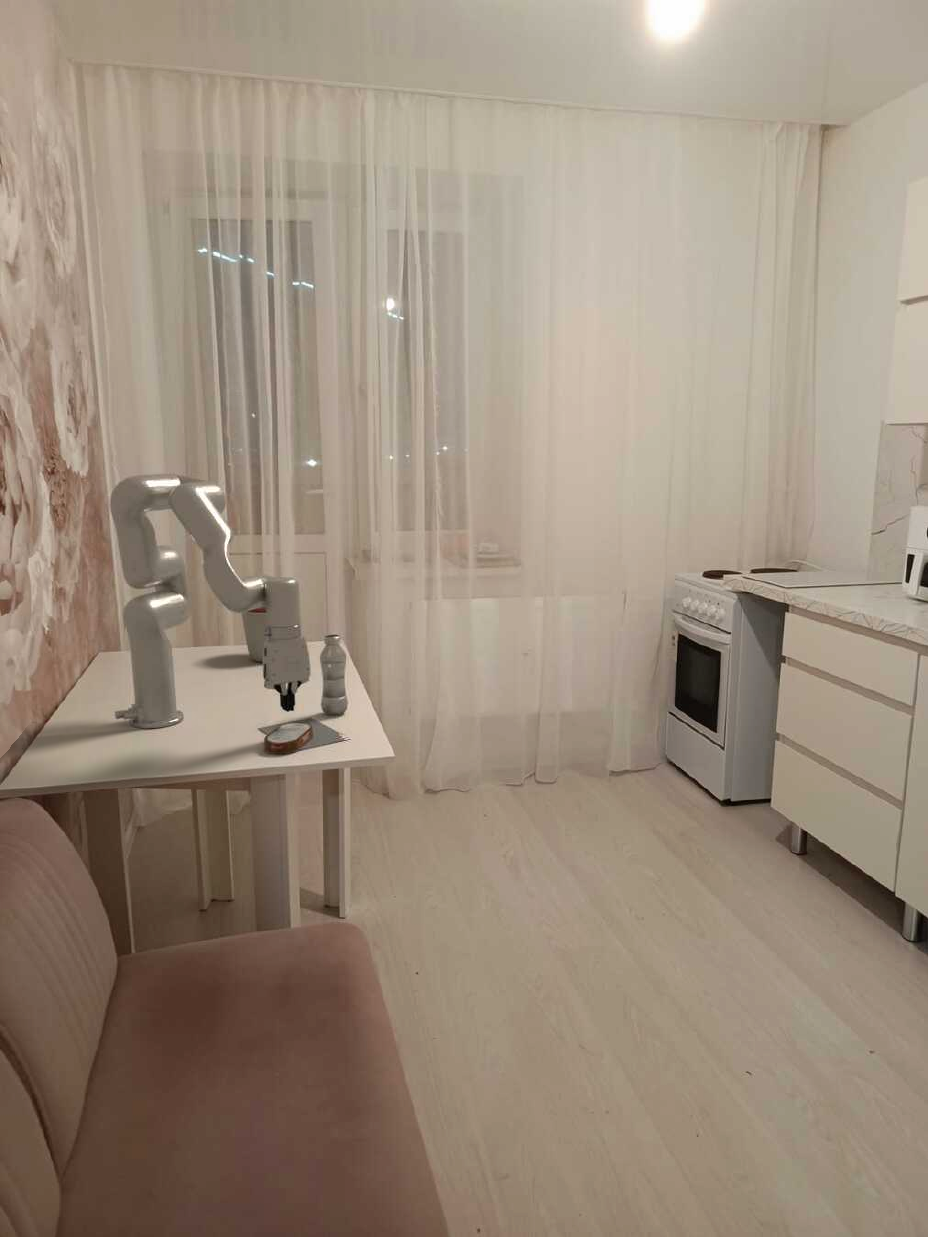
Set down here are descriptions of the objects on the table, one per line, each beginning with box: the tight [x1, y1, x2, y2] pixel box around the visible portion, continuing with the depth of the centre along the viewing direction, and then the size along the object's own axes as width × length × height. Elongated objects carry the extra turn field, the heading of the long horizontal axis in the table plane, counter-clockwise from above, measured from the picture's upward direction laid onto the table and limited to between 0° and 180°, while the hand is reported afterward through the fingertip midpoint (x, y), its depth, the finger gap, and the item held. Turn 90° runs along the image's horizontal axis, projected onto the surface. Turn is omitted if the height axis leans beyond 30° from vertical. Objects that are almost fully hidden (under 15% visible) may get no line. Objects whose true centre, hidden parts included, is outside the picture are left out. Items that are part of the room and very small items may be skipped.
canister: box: [241, 606, 268, 663], centre depth 280 cm, size 18×18×21 cm
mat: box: [257, 717, 348, 753], centre depth 209 cm, size 14×20×1 cm
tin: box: [263, 722, 313, 755], centre depth 202 cm, size 15×3×8 cm
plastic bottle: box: [319, 634, 349, 715], centre depth 223 cm, size 6×7×20 cm
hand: (288, 709), depth 206 cm, fingers closed
